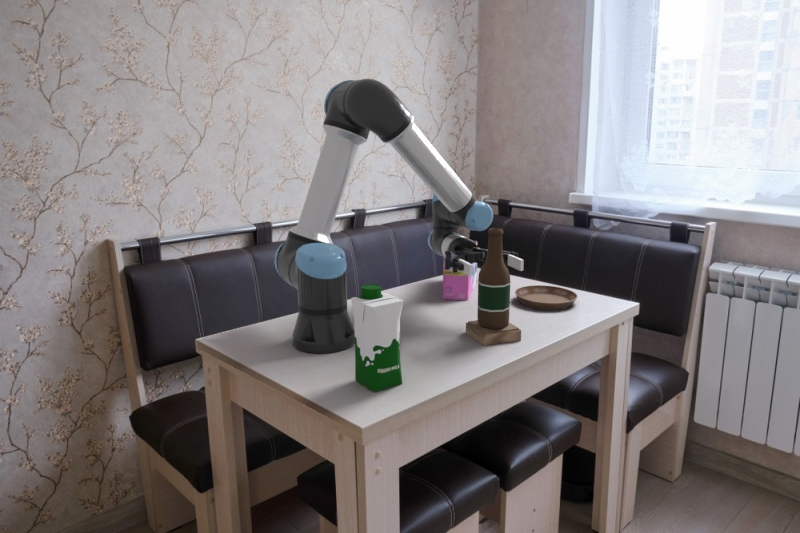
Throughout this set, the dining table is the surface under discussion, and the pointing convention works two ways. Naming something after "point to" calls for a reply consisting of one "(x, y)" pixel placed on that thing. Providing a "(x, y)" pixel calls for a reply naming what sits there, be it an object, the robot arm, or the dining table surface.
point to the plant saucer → (546, 297)
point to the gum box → (458, 283)
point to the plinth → (493, 333)
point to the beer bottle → (494, 285)
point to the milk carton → (377, 338)
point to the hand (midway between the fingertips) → (497, 268)
